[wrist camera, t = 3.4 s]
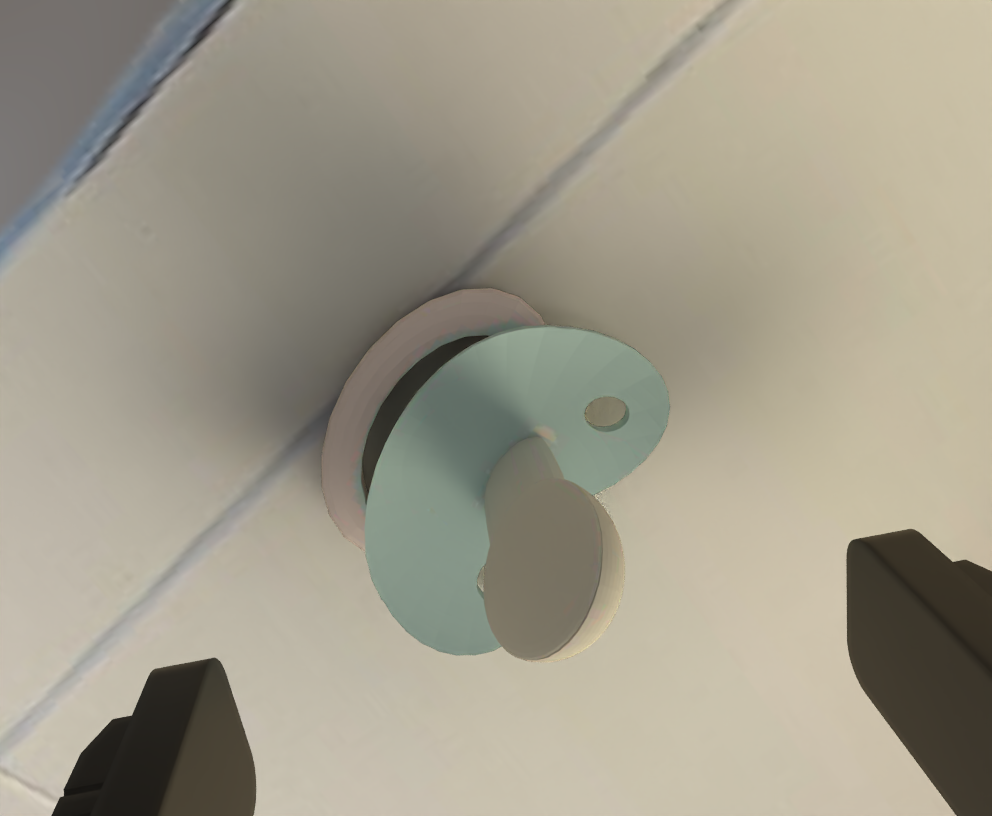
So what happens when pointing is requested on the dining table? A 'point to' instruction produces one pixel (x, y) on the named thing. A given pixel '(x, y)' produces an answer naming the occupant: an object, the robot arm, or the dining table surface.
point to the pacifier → (493, 476)
